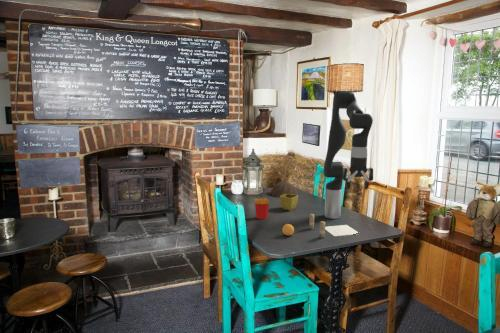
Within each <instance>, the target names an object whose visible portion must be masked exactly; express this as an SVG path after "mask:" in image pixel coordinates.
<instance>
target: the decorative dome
mask: <svg viewBox="0 0 500 333" xmlns="http://www.w3.org/2000/svg"><path fill="white" fill-rule="evenodd" d="M284 194H293V195H298V190H297V189H296V187H295V186H294V185H293V184H292V183H290V182H287V181H280V182H277V183H276V184H274V185H273V186H272V188H271V190H270V195H271V197H277V198H280V196H282V195H284Z"/></svg>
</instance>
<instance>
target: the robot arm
mask: <svg viewBox="0 0 500 333" xmlns="http://www.w3.org/2000/svg"><path fill="white" fill-rule="evenodd" d="M340 109H344V110H346V115H347V117H348V118H349V121H348V123H349V127H351V129H353V130H354V129H356V130H361V129H362V130H361V132H359V133H355V134H352V137H351V139H352V140H351V149H350V164H349V165H350V166H349V168H348V167H344V164H343V162H342V161H334V159H335V156H336V155H337V154H338V153H339V151H340V150H341V149H342V148H343V146H344V145H345V142H346V138H347V129H346V126H345V124H344V123H343V121H342V119H341V116H340ZM331 112H332V113H331V120H330V121H331V122H330V129H329V134H328V141H327V142H328V143H327V150H326V156H325V159H324V165H323V175H324V177H325V178H330V179H331V178H333V179H332V180H331V181H328V182H327V183H326V184H325V195H324V196H325V200H324V218H327V219H331V220H332V219H333V220H334V219H340V218H341V212H342V210H341V209H342V192H343V191H342V190H343V189H342V188H343V182H345V188H346V189H347V190H350V189H351V180H353V178H363V179H364V190H368V189H369V187H370V185H369V184H370V181H373V180H374V168H373V167H371V166H370V167H367V165H368V163H367V162H368V139H369V135H370V132H371V128H372V126H373V121H374V120H373V116H372V115H371V114H370V113H364V111H363V110H362V108H361V107H360V106H359V103H358V99H357V97H356V95H355V93H354V92H352V91H348V90H347V91H344V90H343V91H341V90H337V91H335V92H334V95H333V99H332V110H331ZM349 172H350V173H349ZM348 173H349V174H348ZM366 173H368V176H367V174H366ZM347 174H348V175H347Z"/></svg>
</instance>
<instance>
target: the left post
mask: <svg viewBox="0 0 500 333" xmlns="http://www.w3.org/2000/svg"><path fill="white" fill-rule="evenodd" d="M308 216H309V217H308V220H309V222H308V229H309V230H315V213H310V214H309V215H308Z"/></svg>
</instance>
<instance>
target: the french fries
mask: <svg viewBox="0 0 500 333" xmlns="http://www.w3.org/2000/svg"><path fill="white" fill-rule="evenodd" d="M269 202H270V201H269V198H267V197H264V198H254V206H255V217H256V219H258V220H266V219H268V216H269V207H270V203H269Z"/></svg>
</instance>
